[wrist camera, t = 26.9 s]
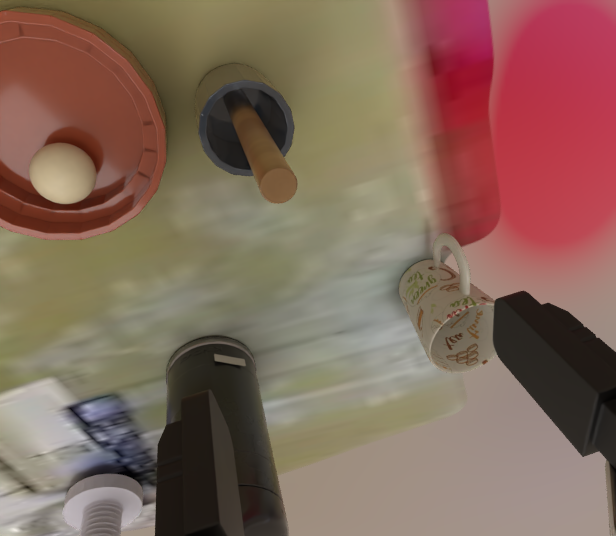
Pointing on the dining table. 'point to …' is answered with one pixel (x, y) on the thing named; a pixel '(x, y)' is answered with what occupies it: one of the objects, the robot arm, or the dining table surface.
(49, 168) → the dough ball
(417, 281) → the mug
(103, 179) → the bowl
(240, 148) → the tube
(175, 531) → the robot arm
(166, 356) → the dining table surface
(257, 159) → the stick
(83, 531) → the screw
